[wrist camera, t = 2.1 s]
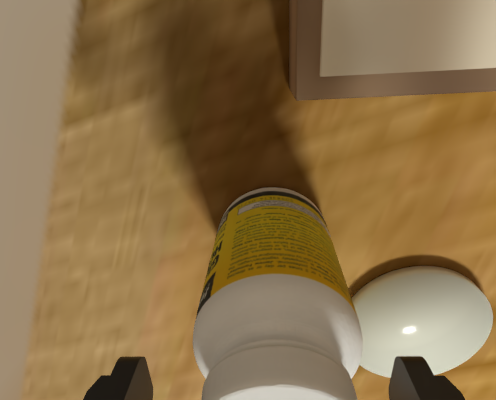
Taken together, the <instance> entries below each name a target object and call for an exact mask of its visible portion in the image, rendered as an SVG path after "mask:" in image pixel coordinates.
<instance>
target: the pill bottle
mask: <svg viewBox="0 0 496 400" xmlns="http://www.w3.org/2000/svg"><path fill="white" fill-rule="evenodd" d="M193 349H194V355H195V358H196V362H197V364H198V367H199V369H200V370H201V372H202V374H203V376H204V377H205V378H206V380H205V382H204V386H203V391H202V400H357V396H356V393H355V389H354V386H353V383H352V380H351V379H352V377H353V376H354V374H355V373H356V370H357V368H358V366H359V363H360V360H361V356H362V350H363V339H362V331H361V327H360V323H359V319H358V316H357V313H356V310H355V307H354V305H353V302H352V299H351V296H350V293H349V290H348V287H347V284H346V281H345V279H344V276H343V273H342V270H341V267H340V264H339V261H338V258H337V255H336V252H335V249H334V246H333V243H332V240H331V237H330V234H329V231H328V228H327V225H326V223H325V221H324V218H323V216H322V214H321V212H320V211H319V209H318V208H317V207H316V206H315V205H314V203H313V202H311V201H310V200H309V199H308V198H306V197H305V196H303V195H301V194H299V193H297V192H295V191H292V190H289V189H285V188H276V187H268V188H260V189H256V190H253V191H250V192H248V193H246V194H244V195H242V196H240V197H239V198H238V199H236V200H235V201H234V202H233V203H232V204H231V205H230V206H229V207H228V209H227V210H226V211H225V213H224V215H223V217H222V219H221V222H220V225H219V227H218V231H217V234H216V238H215V244H214V248H213V252H212V255H211V259H210V263H209V267H208V271H207V275H206V279H205V283H204V288H203V292H202V296H201V299H200V304H199V308H198V311H197V317H196V321H195V325H194V333H193Z"/></svg>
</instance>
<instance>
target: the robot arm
mask: <svg viewBox="0 0 496 400" xmlns="http://www.w3.org/2000/svg"><path fill="white" fill-rule="evenodd" d="M389 399H390V400H465V398H464V397H463V395H462V393H461V392H460V391H459V390H458V389H457V388H456V387H455V386H454V385H453V384H452V383H451V382H450V381H449V380H448V379H447V378H446V377H445V376H434V374H433V373H432V371H431V369H430V367H429V365H428V363H427V361H426V360H425V359H424V358H423V357H422V356H397V357H396V358H395V360H394V365H393V370H392V374H391V379H390V384H389ZM83 400H153V386H152V382H151V378H150V374H149V370H148V366H147V362H146V359H145V357H120V358H119V359H118V361H117V362H116V364H115V367H114V369H113V371H112V373H111V376H101V377H100V378H99V379H98V380H97V381H96V382H95V383H94V384H93V385H92V387H91V388H90V389H89V390H88V391H87V393H86V395H85V397H84V399H83Z"/></svg>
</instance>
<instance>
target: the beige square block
mask: <svg viewBox="0 0 496 400" xmlns="http://www.w3.org/2000/svg"><path fill="white" fill-rule="evenodd" d="M289 89H290V90H291V92H292V94H293V95H294V97H295V99H296V100H319V99H340V98H361V97H383V96H404V95H425V94H447V93H468V92H489V91H496V0H289Z"/></svg>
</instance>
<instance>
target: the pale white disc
mask: <svg viewBox="0 0 496 400" xmlns="http://www.w3.org/2000/svg"><path fill="white" fill-rule="evenodd" d="M352 302H353V305H354V307H355V310H356V313H357V316H358V319H359V323H360V327H361V331H362V339H363V350H362V356H361V360H360V363H359V365H360V366H362V367H363V368H365V369H366V370H369V371H371V372H373V373H375V374H378V375H381V376H385V377H390V378H391V374H392V370H393V365H394V360H395V358H396V357H397V356H422V357H423V358H424V359H425V360H426V361H427V363H428V365H429V367H430V369H431V371H432V373H433V374H434V375H437V374H440V373H443V372H446V371H448V370H450V369H453V368H455V367H457V366H458V365H460V364H462V363H463V362H465V361H466V360H468V359H469V358H470V357H472V356H473V355H474V354H475V353H476V352H477V351H478V350H479V349H480V348H481V347H482V345H483V344H484V343H485V341H486V340H487V338H488V336H489V334H490V331H491V328H492V323H493V313H492V308H491V305H490V303H489V301H488V299H487V298H486V296H485V295H484V294H483V293H482V292H481V291H480V289H479V288H478V287H477V286H476V285H475V284H474V283H473V282H472V281H471V280H470V279H468V278H467V277H466V276H464V275H462V274H460V273H458V272H456V271H453V270H450V269H447V268H443V267H436V266H412V267H406V268H401V269H398V270H394V271H391V272H388V273H386V274H383V275H381V276H379V277H377V278H375V279H374V280H372V281H370V282H369V283H367V284H366V285H365V286H363V287H362V288H361V289H360V290H359V291H358V292H357V293H356V294H355V295H354V296H353V297H352Z"/></svg>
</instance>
